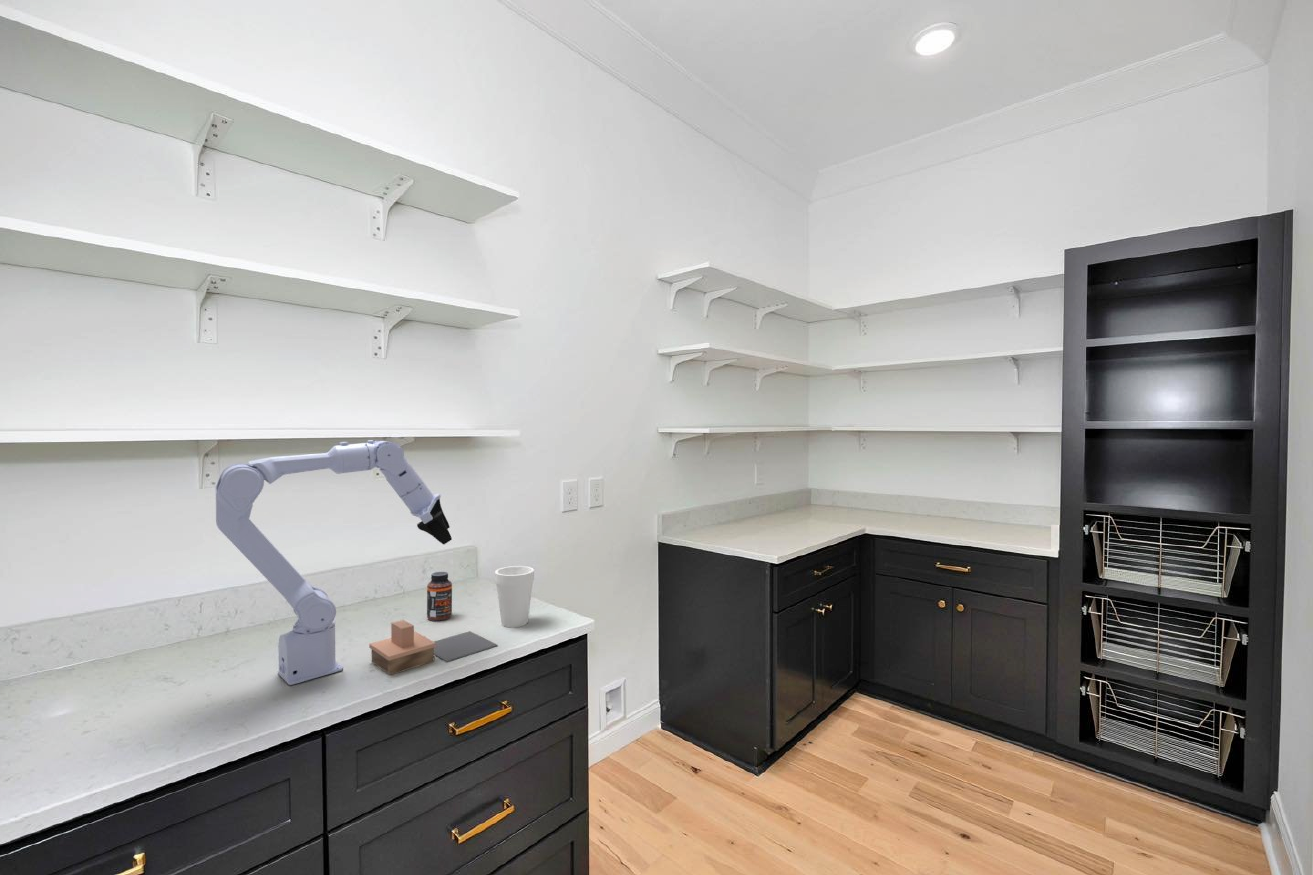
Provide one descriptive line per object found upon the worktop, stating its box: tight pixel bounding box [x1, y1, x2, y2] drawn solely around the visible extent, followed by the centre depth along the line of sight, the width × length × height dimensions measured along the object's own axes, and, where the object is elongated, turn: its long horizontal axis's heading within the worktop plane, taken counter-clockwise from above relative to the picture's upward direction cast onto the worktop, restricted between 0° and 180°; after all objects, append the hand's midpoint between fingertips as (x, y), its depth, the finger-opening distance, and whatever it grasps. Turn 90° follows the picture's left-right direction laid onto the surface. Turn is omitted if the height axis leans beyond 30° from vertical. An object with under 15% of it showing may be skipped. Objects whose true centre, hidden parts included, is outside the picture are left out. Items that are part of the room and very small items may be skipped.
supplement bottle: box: [426, 571, 453, 622], centre depth 146 cm, size 6×6×11 cm
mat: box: [433, 630, 498, 663], centre depth 128 cm, size 12×12×1 cm
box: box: [371, 647, 435, 676], centre depth 120 cm, size 9×9×3 cm
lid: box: [369, 619, 436, 661], centre depth 120 cm, size 10×10×5 cm
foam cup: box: [494, 565, 535, 628], centre depth 143 cm, size 10×9×13 cm
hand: (446, 535), depth 131 cm, fingers open, 7 cm apart
